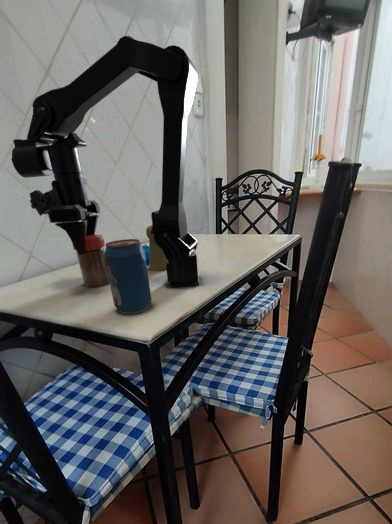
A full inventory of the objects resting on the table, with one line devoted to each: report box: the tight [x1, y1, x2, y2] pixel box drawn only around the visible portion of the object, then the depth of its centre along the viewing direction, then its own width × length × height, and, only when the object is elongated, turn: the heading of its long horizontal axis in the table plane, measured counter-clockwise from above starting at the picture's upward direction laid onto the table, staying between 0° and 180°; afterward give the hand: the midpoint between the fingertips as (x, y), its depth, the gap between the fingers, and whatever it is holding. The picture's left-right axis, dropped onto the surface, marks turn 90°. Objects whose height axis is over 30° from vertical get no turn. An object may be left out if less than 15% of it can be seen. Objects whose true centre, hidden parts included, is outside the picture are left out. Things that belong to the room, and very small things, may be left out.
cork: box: [145, 224, 168, 272], centre depth 83 cm, size 6×6×11 cm
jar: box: [75, 247, 110, 288], centre depth 74 cm, size 6×6×10 cm
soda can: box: [104, 238, 152, 315], centre depth 56 cm, size 7×7×12 cm
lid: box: [71, 234, 106, 252], centre depth 72 cm, size 7×7×2 cm
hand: (85, 251), depth 72 cm, fingers open, 8 cm apart
